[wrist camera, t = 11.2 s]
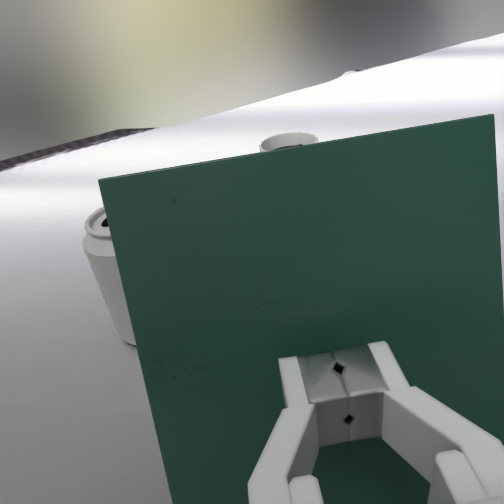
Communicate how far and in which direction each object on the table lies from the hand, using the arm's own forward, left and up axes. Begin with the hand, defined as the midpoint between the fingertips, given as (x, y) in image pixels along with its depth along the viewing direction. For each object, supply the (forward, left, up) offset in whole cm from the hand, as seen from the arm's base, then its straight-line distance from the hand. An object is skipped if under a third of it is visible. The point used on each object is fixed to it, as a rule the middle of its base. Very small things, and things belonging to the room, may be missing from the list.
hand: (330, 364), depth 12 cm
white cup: (+35, +18, -17) cm, 43 cm away
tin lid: (+1, +1, -2) cm, 2 cm away
